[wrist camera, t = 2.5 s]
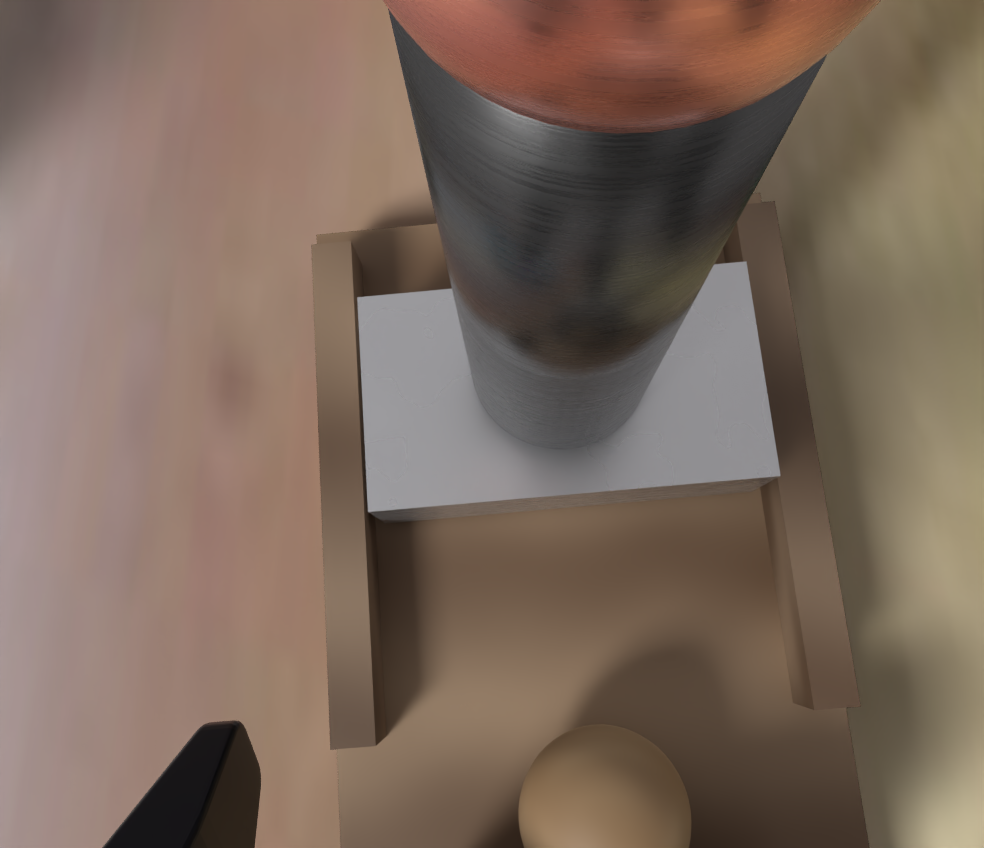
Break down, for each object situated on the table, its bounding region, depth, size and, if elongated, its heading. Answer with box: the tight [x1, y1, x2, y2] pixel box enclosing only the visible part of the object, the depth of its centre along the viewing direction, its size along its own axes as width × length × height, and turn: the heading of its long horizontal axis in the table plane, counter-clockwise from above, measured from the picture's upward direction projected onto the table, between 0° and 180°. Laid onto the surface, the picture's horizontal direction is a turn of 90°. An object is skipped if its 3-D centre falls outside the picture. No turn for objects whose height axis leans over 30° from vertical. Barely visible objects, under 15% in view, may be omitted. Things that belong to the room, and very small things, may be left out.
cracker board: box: [311, 193, 869, 848], centre depth 19 cm, size 20×12×7 cm, turn 5°
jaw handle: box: [357, 0, 881, 523], centre depth 13 cm, size 5×9×18 cm, turn 95°
